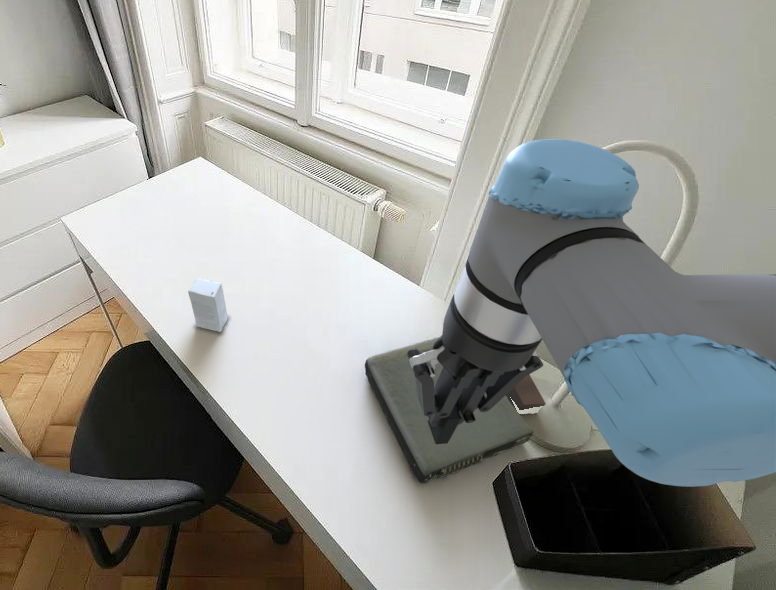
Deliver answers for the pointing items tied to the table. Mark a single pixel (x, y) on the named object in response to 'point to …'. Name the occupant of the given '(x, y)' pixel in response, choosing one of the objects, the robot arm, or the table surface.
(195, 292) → the cosmetic box
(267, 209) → the table surface
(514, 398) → the brown and white block
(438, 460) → the network switch
